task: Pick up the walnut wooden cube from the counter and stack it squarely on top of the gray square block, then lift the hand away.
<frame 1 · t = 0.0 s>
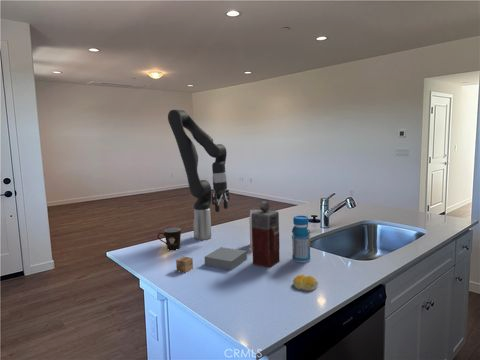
hand: (221, 210, 181), 17 cm above the worktop, tool pointing down, fingers open, 8 cm apart
beverage bottle: (301, 260, 150), on the worktop
red rectangular canister: (268, 263, 147), on the worktop
bread roll: (305, 286, 124), on the worktop
milk carton: (258, 245, 172), on the worktop
gray square block: (226, 262, 150), on the worktop
coffee mug: (171, 248, 173), on the worktop
walnut cube: (184, 270, 143), on the worktop
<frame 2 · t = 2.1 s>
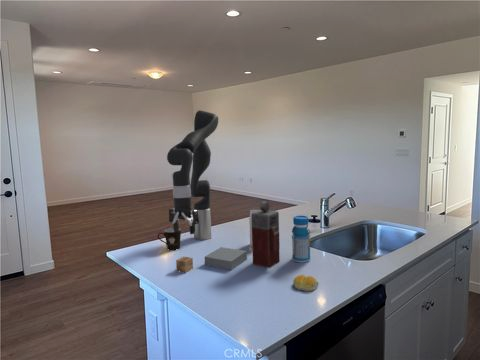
hand: (184, 232, 141), 17 cm above the worktop, tool pointing down, fingers open, 8 cm apart
nothing on the worktop moved.
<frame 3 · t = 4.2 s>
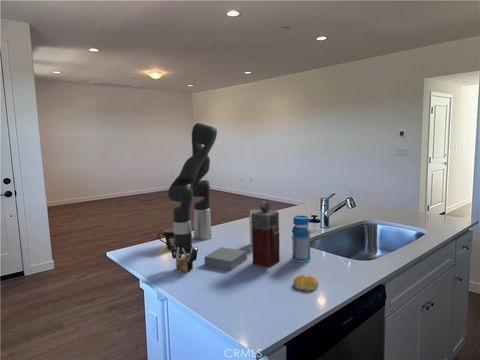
hand: (184, 268, 143), 0 cm above the worktop, tool pointing down, fingers closed on walnut cube, 5 cm apart
walnut cube: (184, 269, 143), on the worktop, touching gripper
everything else where it was.
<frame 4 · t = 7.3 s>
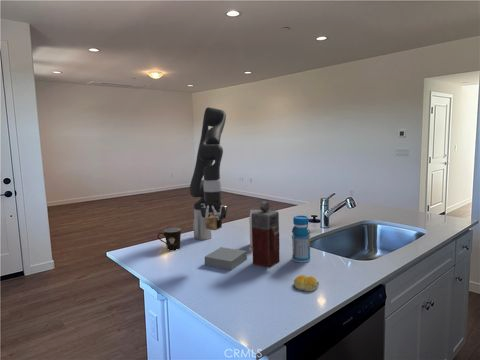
hand: (213, 227, 146), 17 cm above the worktop, tool pointing down, fingers closed on walnut cube, 5 cm apart
walnut cube: (213, 228, 146), point 17 cm above the worktop, touching gripper
everything else where it was.
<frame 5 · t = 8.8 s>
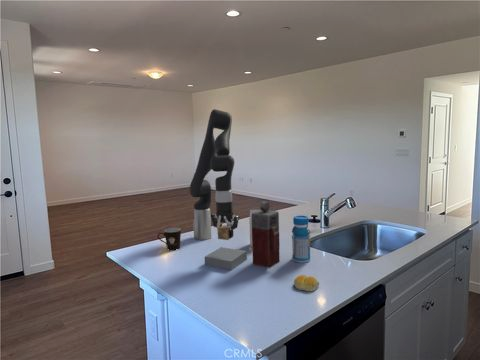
hand: (225, 236, 149), 12 cm above the worktop, tool pointing down, fingers closed on walnut cube, 5 cm apart
walnut cube: (225, 237, 149), point 12 cm above the worktop, touching gripper
everything else where it was.
when the fingers open (6 cm above the worktop, at t = 10.3 s): walnut cube drops 1 cm, resting on gray square block.
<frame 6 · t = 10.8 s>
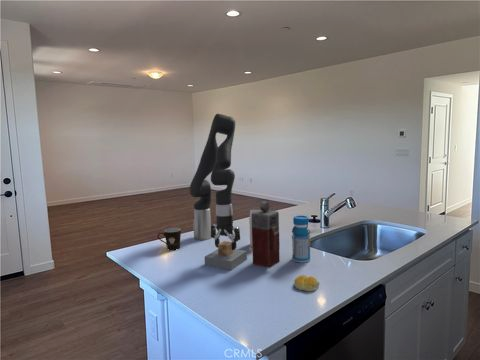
hand: (225, 248, 149), 7 cm above the worktop, tool pointing down, fingers open, 8 cm apart
walnut cube: (225, 253, 150), point 4 cm above the worktop, touching gray square block
everything else where it was.
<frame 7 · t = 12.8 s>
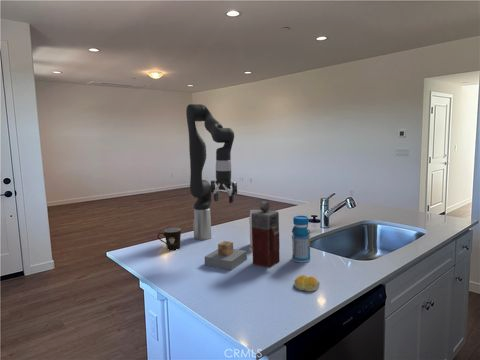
hand: (223, 202, 162), 25 cm above the worktop, tool pointing down, fingers open, 8 cm apart
nothing on the worktop moved.
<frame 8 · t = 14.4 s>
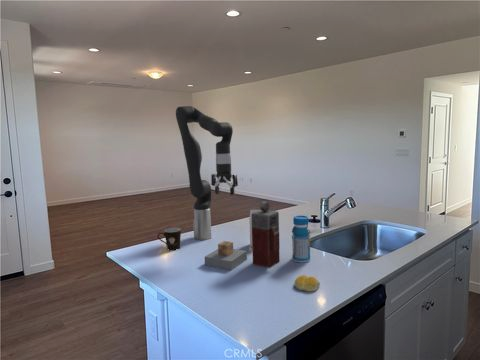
hand: (224, 194, 166), 28 cm above the worktop, tool pointing down, fingers open, 8 cm apart
nothing on the worktop moved.
at the end: walnut cube inside the target area on the gray square block (0.0 cm from its centre), point 4.0 cm above the gray square block's base; walnut cube tilted 0°; the gripper is holding nothing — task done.
